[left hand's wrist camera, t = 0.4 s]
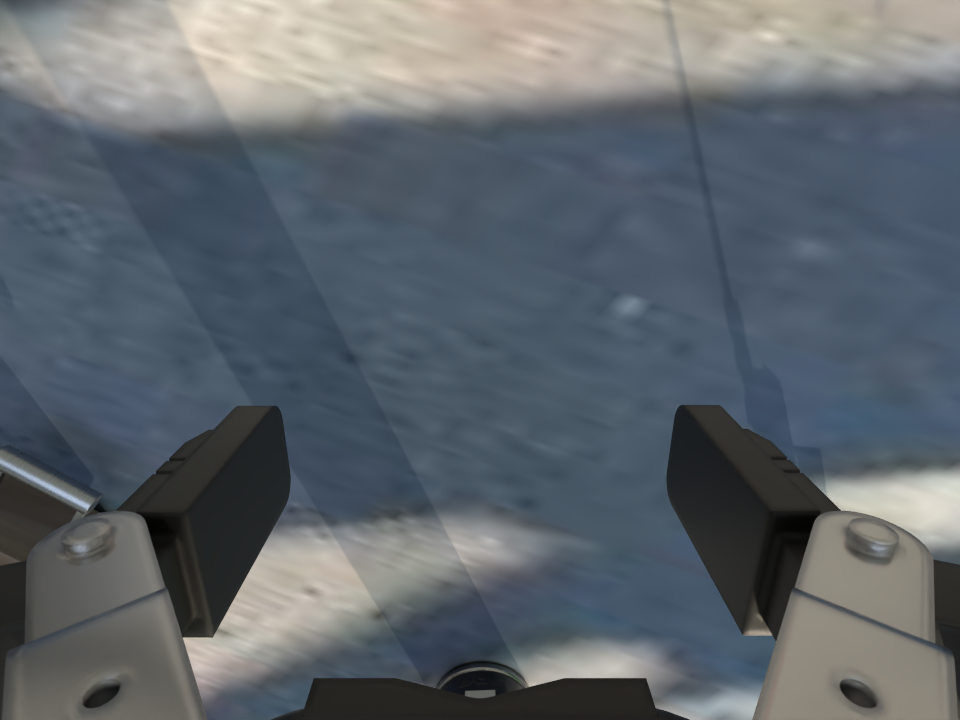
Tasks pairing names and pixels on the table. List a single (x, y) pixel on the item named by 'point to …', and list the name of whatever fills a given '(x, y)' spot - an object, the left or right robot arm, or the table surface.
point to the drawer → (36, 503)
